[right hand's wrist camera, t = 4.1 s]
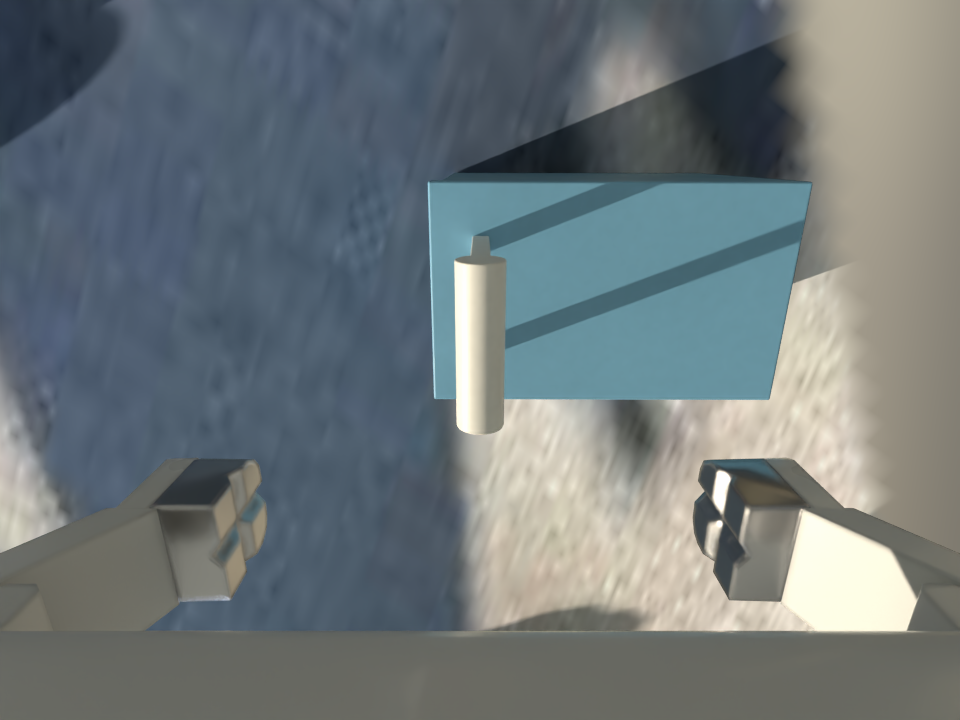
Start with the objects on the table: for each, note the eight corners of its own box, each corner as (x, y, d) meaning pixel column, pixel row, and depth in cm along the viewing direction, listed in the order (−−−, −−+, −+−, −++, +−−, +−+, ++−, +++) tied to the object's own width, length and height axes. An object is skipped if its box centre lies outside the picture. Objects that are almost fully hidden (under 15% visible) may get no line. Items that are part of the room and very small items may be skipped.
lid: (435, 389, 27) (416, 488, 19) (430, 180, 24) (403, 192, 16) (758, 390, 27) (875, 489, 19) (798, 180, 24) (961, 192, 16)
